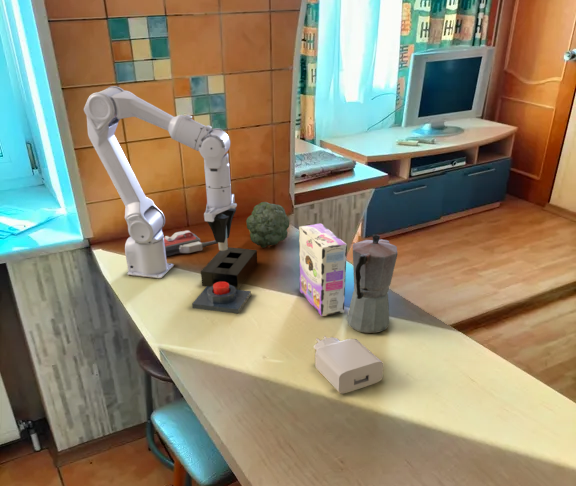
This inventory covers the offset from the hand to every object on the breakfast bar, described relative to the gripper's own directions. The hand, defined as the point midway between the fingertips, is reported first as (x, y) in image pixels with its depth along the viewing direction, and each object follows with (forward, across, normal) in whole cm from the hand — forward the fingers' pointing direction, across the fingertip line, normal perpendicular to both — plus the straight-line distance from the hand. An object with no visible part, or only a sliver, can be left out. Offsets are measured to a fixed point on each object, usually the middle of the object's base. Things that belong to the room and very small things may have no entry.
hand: (222, 239), depth 143 cm
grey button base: (+10, -14, -4) cm, 17 cm away
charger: (+10, -33, -36) cm, 49 cm away
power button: (+7, -14, -5) cm, 16 cm away
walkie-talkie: (+10, +14, +16) cm, 23 cm away
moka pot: (+10, -16, -38) cm, 43 cm away
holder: (+10, 0, -1) cm, 10 cm away
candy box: (+10, -8, -26) cm, 29 cm away
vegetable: (+10, +23, -4) cm, 25 cm away
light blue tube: (+2, 0, 0) cm, 2 cm away
